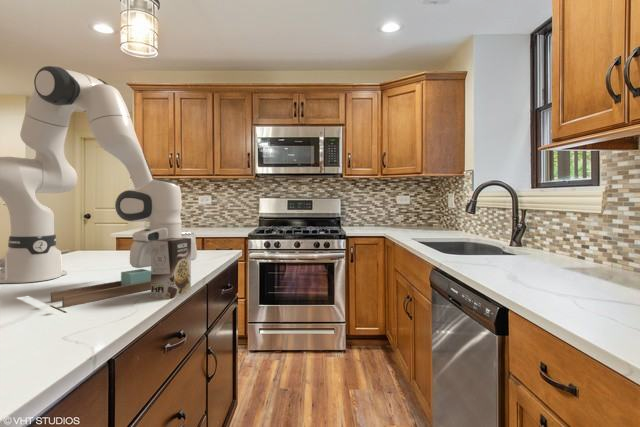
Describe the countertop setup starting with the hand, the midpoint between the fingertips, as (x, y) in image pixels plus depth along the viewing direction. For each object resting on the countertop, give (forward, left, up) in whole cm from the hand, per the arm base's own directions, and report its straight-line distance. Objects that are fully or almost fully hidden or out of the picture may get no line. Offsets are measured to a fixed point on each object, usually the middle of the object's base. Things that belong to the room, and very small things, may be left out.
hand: (165, 278), depth 107 cm
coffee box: (+12, -6, -3) cm, 14 cm away
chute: (0, -16, -3) cm, 16 cm away
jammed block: (0, -9, -2) cm, 9 cm away
